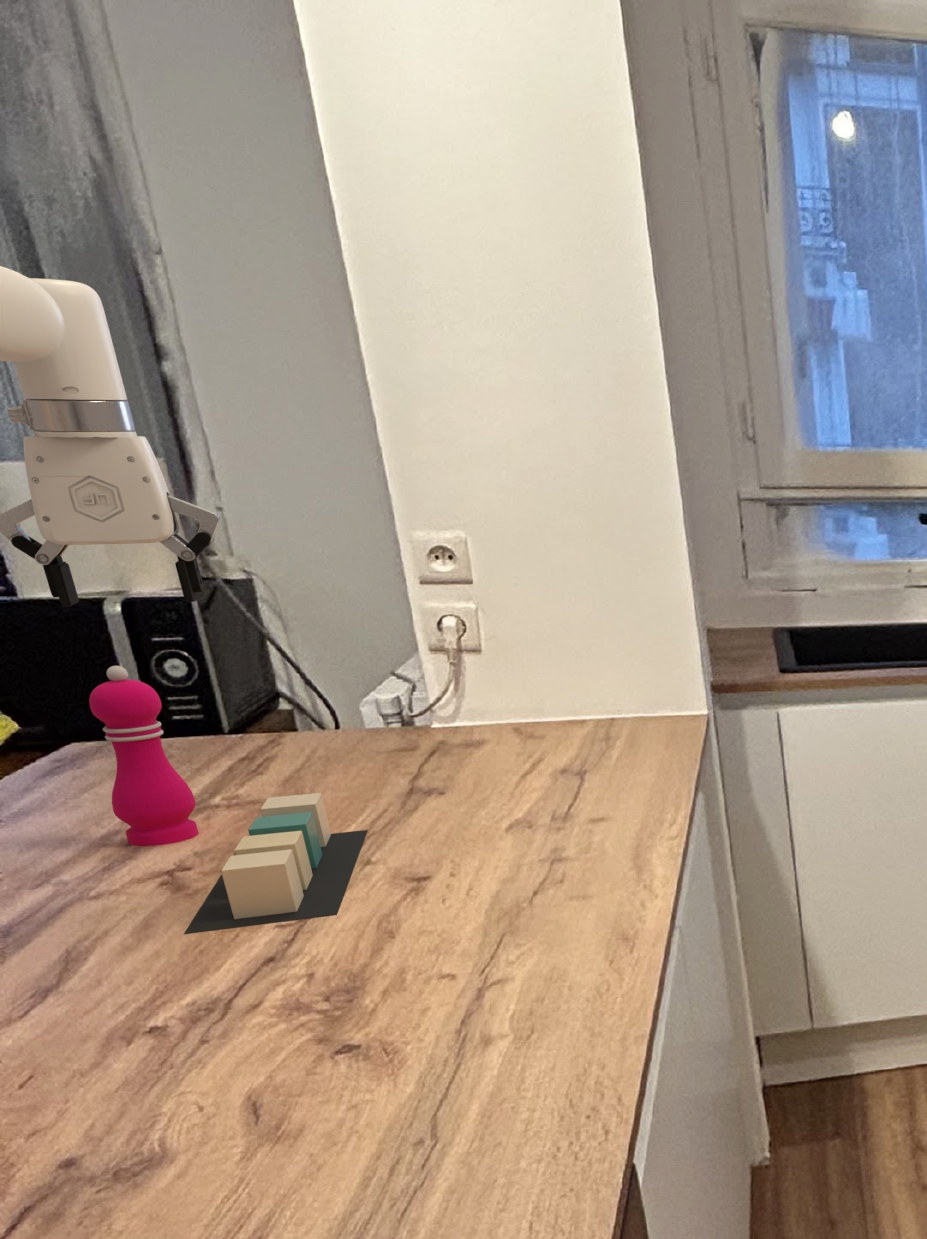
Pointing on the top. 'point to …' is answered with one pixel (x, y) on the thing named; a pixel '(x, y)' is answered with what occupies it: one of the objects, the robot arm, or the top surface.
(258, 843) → the cream block
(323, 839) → the cream block
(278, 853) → the cream block
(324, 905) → the mat
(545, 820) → the top surface
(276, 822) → the teal block
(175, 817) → the pepper mill
